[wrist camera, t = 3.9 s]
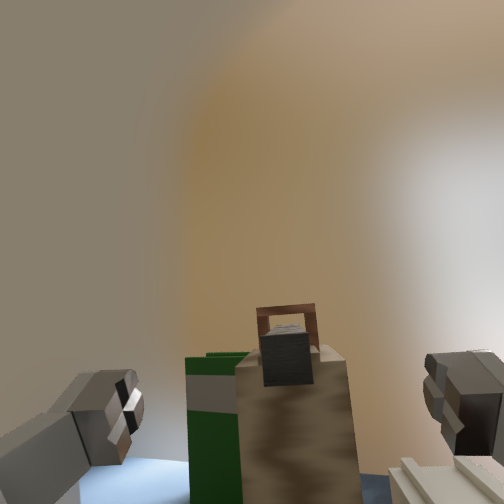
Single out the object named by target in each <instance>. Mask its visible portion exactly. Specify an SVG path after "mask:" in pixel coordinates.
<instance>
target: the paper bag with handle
mask: <svg viewBox="0 0 504 504" xmlns="http://www.w3.org/2000/svg"><path fill="white" fill-rule="evenodd" d="M256 311H257V324H258V337H259V349H254V350H252V351H251V352H250V353H249V354H248V355H247V356H246V357H245V358H244V359H243V360H242V361H241V362H240V363H239V364H238V365H237V366H235V380H236V396H237V412H238V428H239V444H240V459H241V475H242V491H243V504H363V498H362V490H361V481H360V473H359V465H358V457H357V449H356V441H355V433H354V425H353V417H352V408H351V400H350V392H349V384H348V376H347V367H346V360H345V359H343V358H342V357H341V356H340V355H339V354H338V353H336V352H335V351H334V350H333V349H332V348H331V347H329V346H328V345H327V344H326V345H319V339H318V331H317V320H316V312H315V304H314V303H312V304H301V305H287V306H274V307H263V308H256ZM297 313H304V317H305V327H306V332H308V333H309V343H310V352H311V362H312V371H313V381H314V384H310V385H292V386H275V387H264V382H263V369H262V356H261V343H260V336H261V335H266V334H267V333H268V332H269V331H270V326H269V325H270V324H269V316H271V315H284V314H297Z"/></svg>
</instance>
